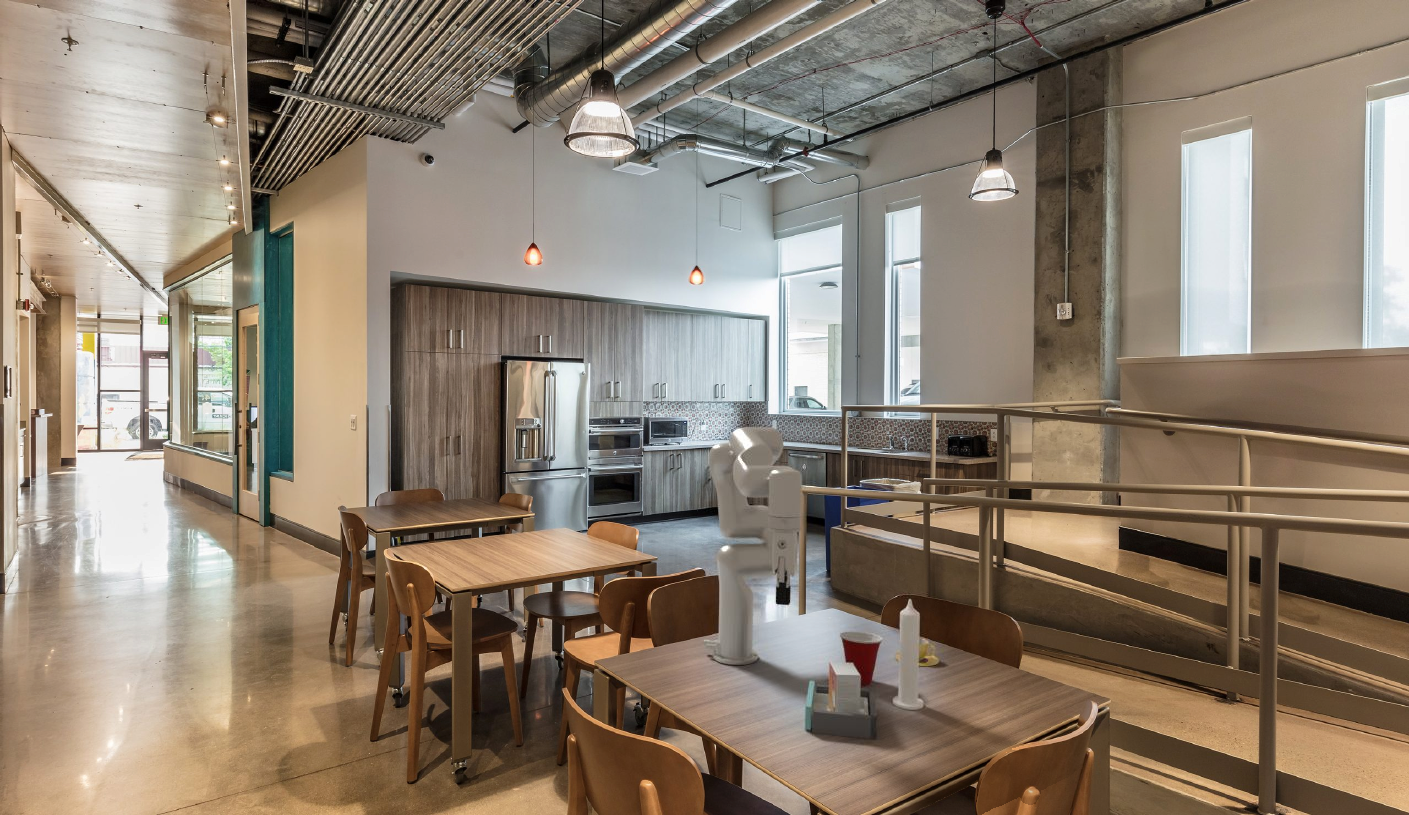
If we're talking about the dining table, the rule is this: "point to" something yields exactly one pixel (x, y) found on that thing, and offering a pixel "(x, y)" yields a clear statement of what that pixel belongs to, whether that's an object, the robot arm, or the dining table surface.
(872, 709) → the bay
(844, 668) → the small box
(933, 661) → the cup
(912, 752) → the dining table surface
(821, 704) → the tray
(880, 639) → the plastic cup
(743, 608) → the robot arm
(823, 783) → the dining table surface
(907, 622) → the candle
